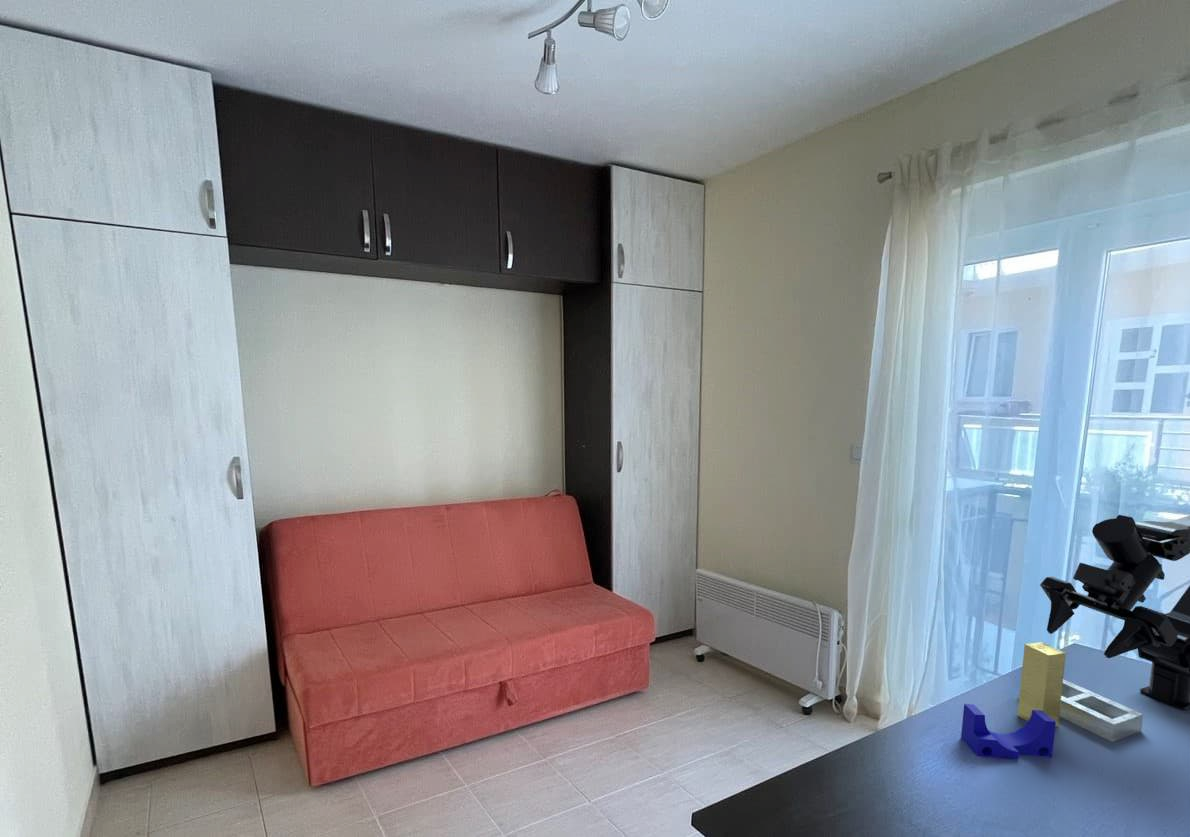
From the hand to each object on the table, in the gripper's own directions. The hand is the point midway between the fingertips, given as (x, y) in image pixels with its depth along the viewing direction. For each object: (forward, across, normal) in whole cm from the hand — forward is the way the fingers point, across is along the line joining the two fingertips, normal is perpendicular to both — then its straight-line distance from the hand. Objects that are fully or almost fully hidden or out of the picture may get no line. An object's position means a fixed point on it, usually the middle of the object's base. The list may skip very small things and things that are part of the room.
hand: (1076, 643), depth 99 cm
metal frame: (+8, 0, +11) cm, 13 cm away
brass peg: (+15, 0, +4) cm, 15 cm away
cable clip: (+24, +5, -5) cm, 25 cm away
